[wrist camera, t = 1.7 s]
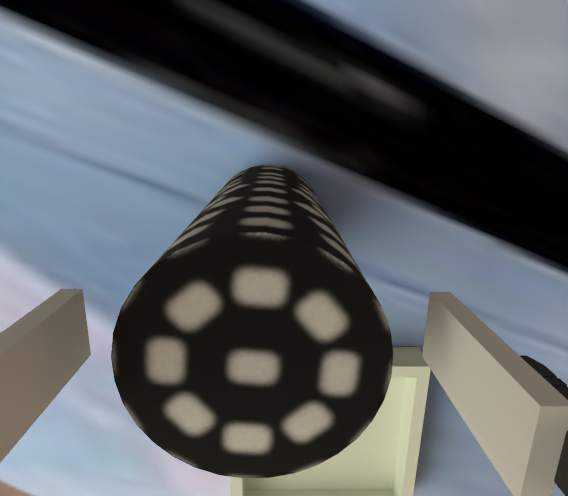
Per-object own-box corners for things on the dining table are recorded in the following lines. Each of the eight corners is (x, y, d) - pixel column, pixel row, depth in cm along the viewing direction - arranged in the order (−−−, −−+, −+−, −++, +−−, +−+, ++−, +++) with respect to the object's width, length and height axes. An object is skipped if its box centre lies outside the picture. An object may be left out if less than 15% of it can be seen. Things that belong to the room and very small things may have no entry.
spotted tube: (327, 170, 30) (417, 245, 11) (314, 274, 32) (369, 485, 13) (216, 160, 30) (106, 217, 11) (211, 265, 32) (114, 470, 13)
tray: (231, 345, 34) (227, 365, 31) (418, 346, 34) (431, 366, 32) (235, 492, 39) (231, 522, 36) (399, 492, 39) (409, 521, 36)
